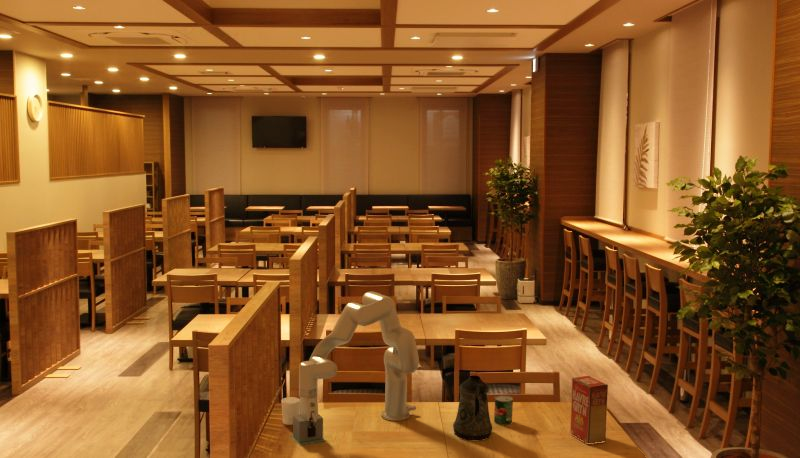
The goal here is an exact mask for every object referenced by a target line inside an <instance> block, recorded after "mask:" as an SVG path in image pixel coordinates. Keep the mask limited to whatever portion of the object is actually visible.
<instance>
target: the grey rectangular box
mask: <svg viewBox="0 0 800 458" xmlns="http://www.w3.org/2000/svg"><path fill="white" fill-rule="evenodd" d="M309 420H312V419H309ZM311 423H312V421H311V422H310V425H311ZM308 428H309V426H308V421H307V420H306V419H304V418H303V417H302V416H301V415H300V414H299V415H293V425H292V435H293V437H294V438H295V439H296V440H297V441H298V442H299V443H300V442H306V441H312V440H318V439H324V418H323V417H322V416H321V414H319V413H318V420H317V422H316V436H314V437H308Z"/></svg>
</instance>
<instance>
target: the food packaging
mask: <svg viewBox="0 0 800 458" xmlns="http://www.w3.org/2000/svg"><path fill="white" fill-rule="evenodd" d="M571 380H572V382H571V408H570V409H571V412H570V428H569V430H570V431H569V432H570V433H571V434H572V435H574V436H576V437H577V438H579V439H581V440H583V441H584V442H586V443H595V442H602V441H605V442H606V432H607V427H606V426H607V408H608V393H609V392H608V390H609V385H608V383H605V382H603V381H600V380H598V379H596V378H594V377H592V376H590V375H582V376H578V377H577V376H576V377H572V378H571ZM572 435H571V436H572ZM574 436H573V437H574ZM577 438H576V439H577Z"/></svg>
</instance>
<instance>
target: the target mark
mask: <svg viewBox="0 0 800 458" xmlns="http://www.w3.org/2000/svg"><path fill="white" fill-rule="evenodd" d="M290 437H291V439H293V440H294V441H295V442H296V443H297V444H298V445H299V446H305V445H310V444H315V443H320V442H321V443H322V442H325V441H326V439H325V438H323V439H318V440H312V441H306V442H300V443H299V442H298V441H297V440H296V439H295V438H294V437H293V434H291V435H290Z"/></svg>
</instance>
